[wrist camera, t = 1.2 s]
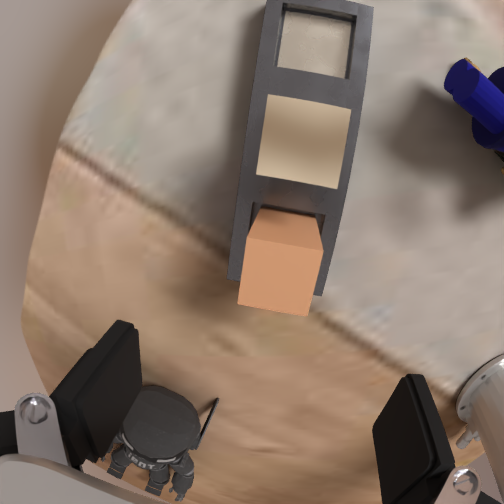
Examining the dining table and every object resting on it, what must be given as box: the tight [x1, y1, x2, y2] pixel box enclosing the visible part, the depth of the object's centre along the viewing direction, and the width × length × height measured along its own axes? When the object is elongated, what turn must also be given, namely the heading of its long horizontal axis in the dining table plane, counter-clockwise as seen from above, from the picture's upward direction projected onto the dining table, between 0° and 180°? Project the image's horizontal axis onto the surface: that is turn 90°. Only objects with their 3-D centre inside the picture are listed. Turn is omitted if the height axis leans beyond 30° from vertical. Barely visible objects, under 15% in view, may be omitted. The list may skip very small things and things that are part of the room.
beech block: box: [256, 94, 351, 189], centre depth 20 cm, size 4×4×8 cm
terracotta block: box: [237, 206, 324, 316], centre depth 22 cm, size 4×4×8 cm
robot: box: [91, 385, 219, 501], centre depth 38 cm, size 17×10×30 cm
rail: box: [227, 0, 374, 296], centre depth 23 cm, size 24×8×3 cm, turn 172°
